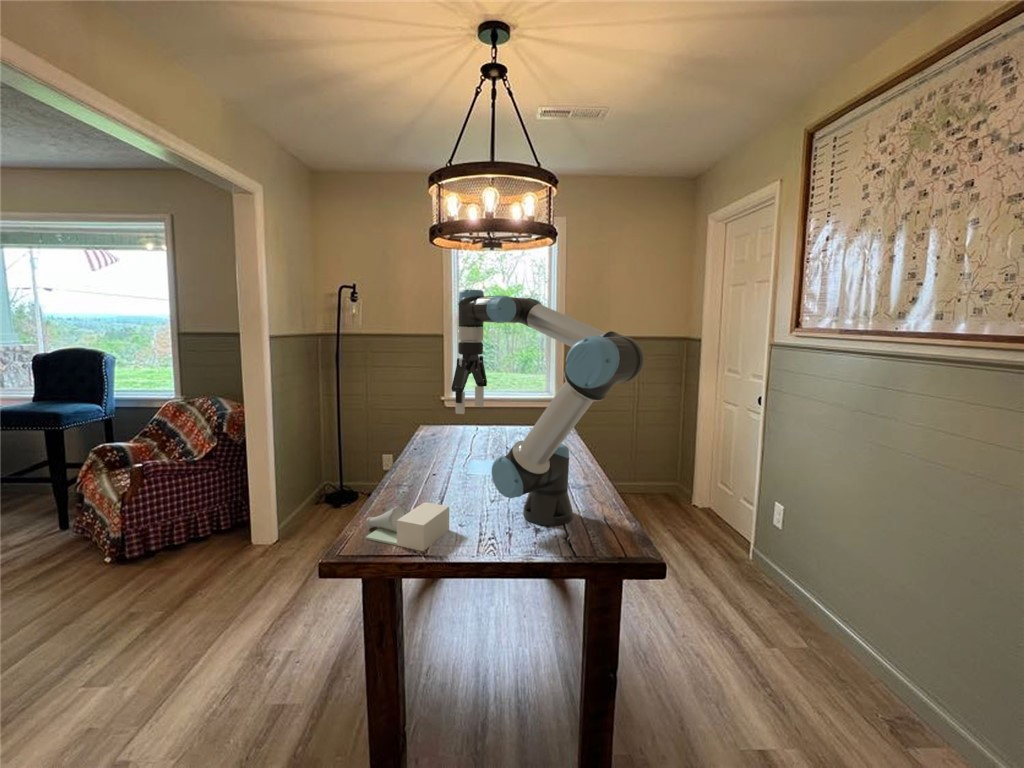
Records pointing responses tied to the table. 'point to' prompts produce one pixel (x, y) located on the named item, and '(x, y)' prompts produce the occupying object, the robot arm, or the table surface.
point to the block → (422, 526)
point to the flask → (386, 519)
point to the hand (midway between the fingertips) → (470, 410)
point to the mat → (383, 536)
